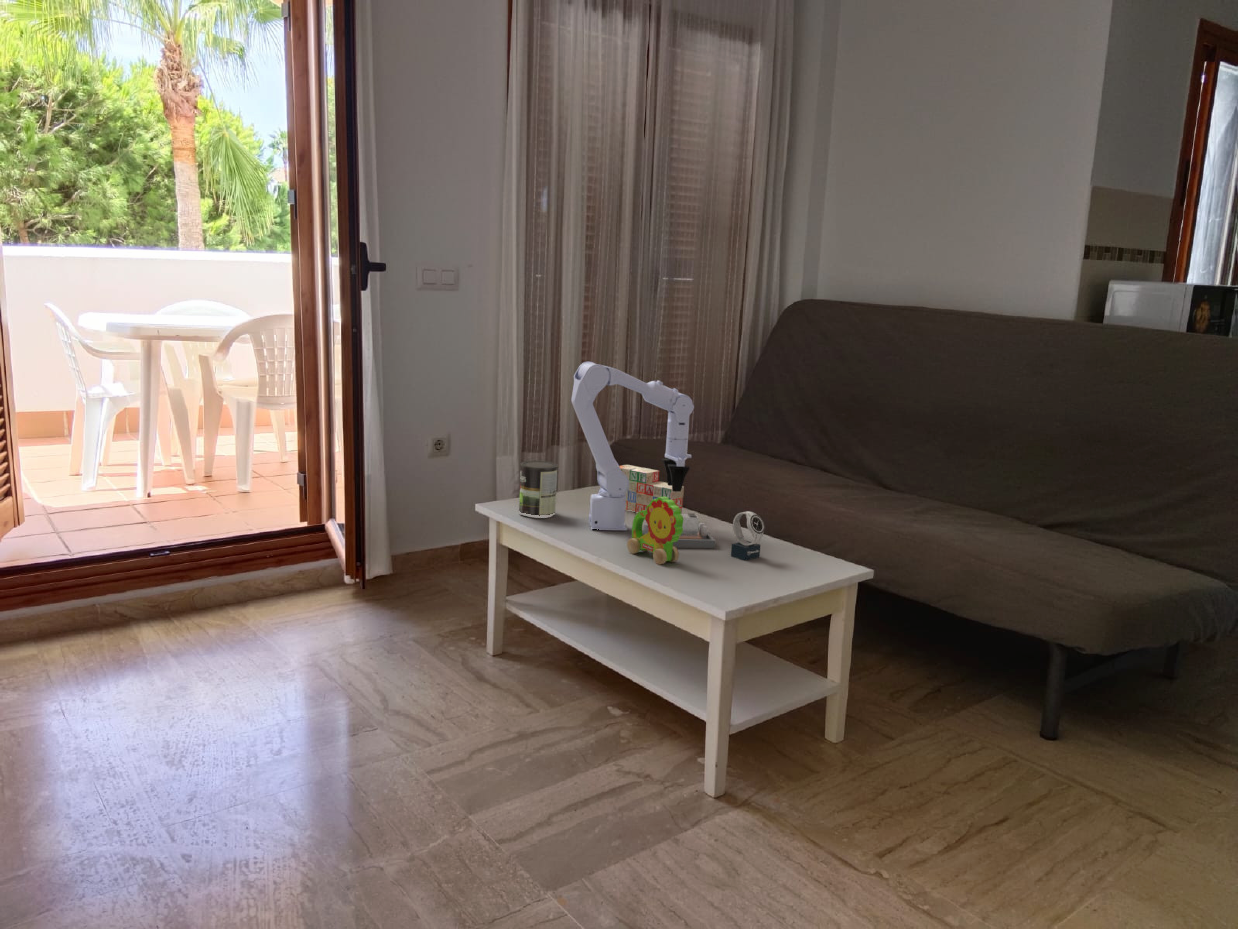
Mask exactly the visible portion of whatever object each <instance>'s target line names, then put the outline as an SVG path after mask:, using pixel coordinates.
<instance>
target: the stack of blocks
mask: <svg viewBox="0 0 1238 929" xmlns="http://www.w3.org/2000/svg"><path fill="white" fill-rule="evenodd" d="M619 467H620V469H621V471H622V472H623V473H624V474H625V475H626V476H627V477H628V479H629V488H628V490H627V492H626V504H625V509H626V510H632V511H635V512H640V511H643V510H646V508H647V506H648V505H649V504H650V502H651V501H652V500H653V499H657V498H658V497H668V498H669V500H673V501H674V502H675V504H676V505H677V506H678V507H679V508H680V511H681V514H683V503H684V502H683V501H684V494H685V493H684V492H685V491H684V490H685V487H684V486H682V489H681V491H680V492H679V491H673V490H672V485H668V484H667V482H664V481H660V470H657V469H651V468H648V467H647V468H646V467H641V466H636V465H632V464H631V465H630V464H623V465H619Z"/></svg>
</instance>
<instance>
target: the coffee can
mask: <svg viewBox="0 0 1238 929" xmlns="http://www.w3.org/2000/svg"><path fill="white" fill-rule="evenodd" d="M519 467H520V473H519V476H520V478H519V504H518V505H519V506H518V512H519V511H520V512H521V513H526V514H531V515H539V516H540V515H550V514H553V513H555V514H556V505H557V504H556V501H557V483H558V482H557V481H558V479H557V478H558V469H559V468H558V467H559V464H558V463H556V462H552V461H544V460H528V461H522V462H520V463H519Z"/></svg>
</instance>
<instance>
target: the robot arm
mask: <svg viewBox="0 0 1238 929" xmlns="http://www.w3.org/2000/svg"><path fill="white" fill-rule="evenodd" d="M615 385H618V386H622V387H624V388H626V389H629V390H632V391H634V392H637V393H639V394H641V396H642V398H643V400H644V402H647V403H648V404H651V405H653V406H655V407H658V408H660V409H662V410H665V411H667V412H668V413H667V428H666V431H667V432H666V440H665V441H666V443H665V453H664V458H662V463H663V466H664V470H665V473H666V475H665V476H666V483H667V484H668V485H672V490H673V491H679V492H680V491H681V489H682V486H683V485H684V482H685V480H686V479H685V478H686V476H687V474H688V473H689V471H690V468H691V467H690V466H689V465H686V460H688V459H692V454H688V443H689V430H690V415H691V414H692V412H693V411H694V409H695V405H694V403H693V400H692V398H691V397H690V396H689V395H687V394H684V393H681V392H679V390H678V388H674V387H673V388H670V387H668V386H666V385H665V384H664V382H663V381H660V380H651V381H649V382H645V381H642V380H640V379H639V378H637V377H635V376H633V375H630V374H628V373H626V372H624V371H622V370H619V369H617V368H615V367H612V366H607V365H604V364H603V365H602V364H599V363H595V362H593V361H584V362H582V363H580V365H579V366H578V368H577V370H576V371H575V373H574V374H573V388H572V394H571V405H572V407H573V409H574V411H575V415H576V417H577V420H578V422H579V424H580V427H581V428H582V432H583V434H584V437H585V440H586V442H587V445H588V447H589V449H590V451H591V455H592V457H593V459H594V461H595V470H596V471H597V473H596V474H597V477H596V478H597V480H596V481H597V484H598V486H600V488H599V491H598V493H593V494H590V501H589V514H588V524H589V527H590V526H591V527H590V529H591V530H592V529H597V530H596V531H628V527H627V526H626V524H625V521H626V517H625V516H626V511H625V504H626V492H627V490H628V488H629V479H628V477H627V476H626V475H625V474H624V473H623V472H622V471H621V469H620V467H619V466H620V465H619V463H618V462H617V460H616V459H615V457H614V454H613V451H612V449H611V446H610V443H609V442H608V439H607V437H606V434H605V432H604V429H603V427H602V423H601V421H600V418H599V416H598V414H597V411H596V409H595V406H594V401H595V400H596V398H597V396H598V394H599V393H600V392H601V391H602V390H603V389H604V388H605V387H606V386H615ZM598 529H599V530H598Z"/></svg>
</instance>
